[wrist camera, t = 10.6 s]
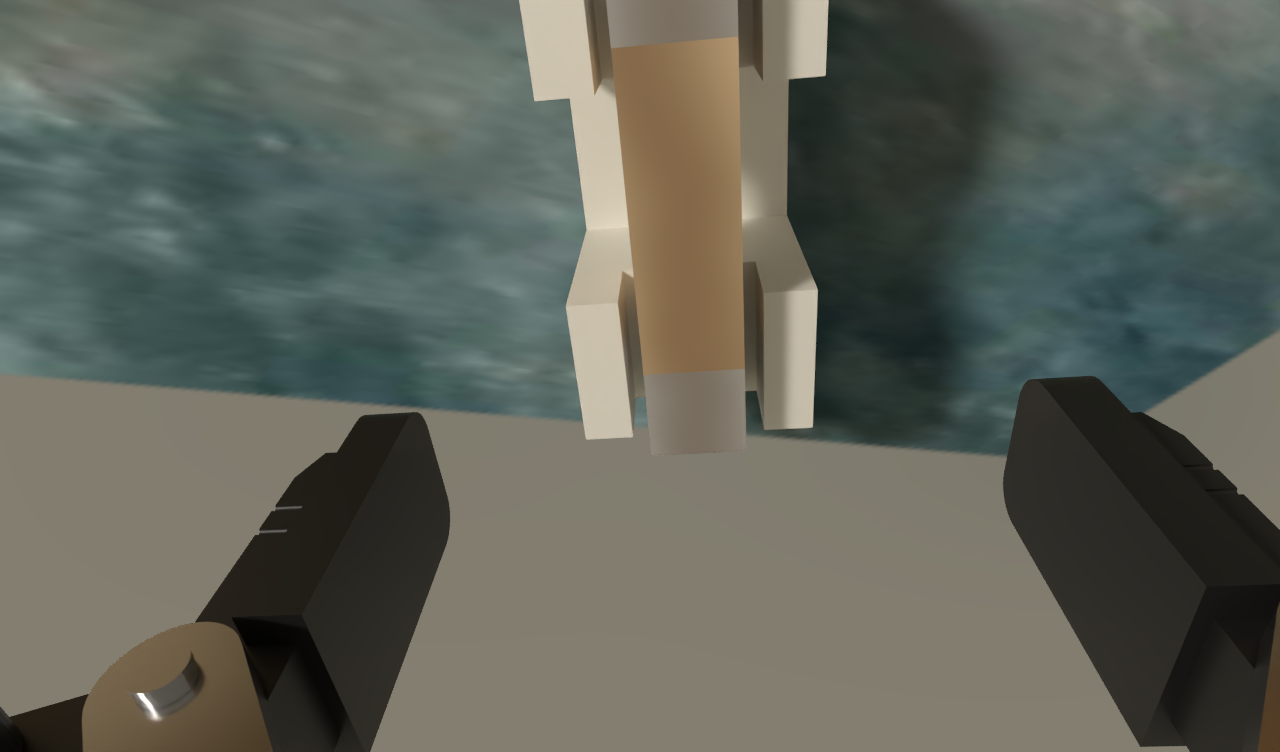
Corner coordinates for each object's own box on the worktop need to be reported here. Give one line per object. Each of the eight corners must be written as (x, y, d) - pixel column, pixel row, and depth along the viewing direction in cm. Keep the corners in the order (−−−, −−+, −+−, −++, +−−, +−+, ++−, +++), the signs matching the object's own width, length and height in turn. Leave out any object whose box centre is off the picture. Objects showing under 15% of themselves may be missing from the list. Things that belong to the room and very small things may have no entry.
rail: (723, -108, 19) (735, -117, 16) (736, 384, 27) (746, 450, 24) (608, -96, 20) (596, -102, 16) (653, 389, 27) (651, 455, 24)
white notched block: (785, -135, 24) (834, -162, 17) (781, 319, 32) (812, 427, 25) (548, -109, 24) (500, -126, 17) (603, 331, 32) (586, 439, 25)
